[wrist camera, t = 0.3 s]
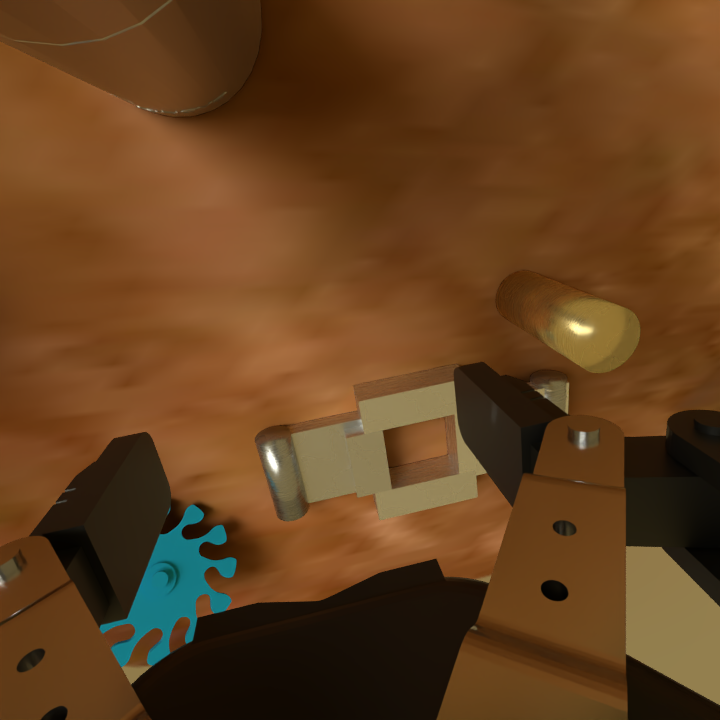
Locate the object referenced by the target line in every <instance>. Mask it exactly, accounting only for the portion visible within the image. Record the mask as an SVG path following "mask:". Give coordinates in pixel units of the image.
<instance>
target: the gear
mask: <svg viewBox="0 0 720 720" xmlns="http://www.w3.org/2000/svg"><path fill="white" fill-rule="evenodd" d="M169 512H170V509H169ZM169 512H168V514H169ZM168 514H167V515H168ZM203 517H204V514H203V512H202V511H201V510H200V509H199V508H198V507H196V506H195V505H191V506H189V507H188V508H187V509H186V511H185V513H184V516H183V519H182V520H181V522H180V523H179V525H178V526H177V527H175V528H174V529H173V530H171V531H170V532H169V533H167V534H160V535H159V538H158V540H157V543H156V545H155V548H154V551H153V553H152V556H151V558H150V561H149V563H148V566H147V569H146V571H145V574H144V576H143V579H142V582H141V584H140V587H139V589H138V592H137V594H136V597H135V600H134V602H133V605H132V607H131V610H130V612H129V615H128V618H127V619H124V620H120V621H116V622H112V623H108V624H103V625H101V626H100V628H99V629H100V630H101V632H102V634H103V633H104V632H106V631H107V630H109V629H111V628H113V627H115V626H119V625H123V624H132V625H133V626H134V627H135V634H134V635H133V637H132V638H130V639H128V640H125V641H120V642H117V643H115V644H114V645H113V646H112V647H111V650H112V652H113V654H114V655H115V657H116V659H117V661H118V663H119V664H120V666H121V667H123V666H124V665H125V664H126V663H127V662H128V661H129V659H130V656H131V653H132V650H133V648H134V646H135V645H136V643H137V642H138V641H139V640H140V638H142V637H143V636H144V635H145V634H146V633H147V632H149V631H150V630H151V629H153V628H159V629H161V630H162V632H163V636H162V639H161V640H160V641H159V642H158V643H157V644H156V645H154V646H153V647H152V648H151V649H150V651H149V653H148V660H147V662H148V664H150V665H154V664H155V663H157V662H158V661H160V660H161V659H163V658H164V657H165V656H167V655H168V654H170V650H169V638H170V634H171V631H172V629H173V627H174V625H175V623H176V621H177V620H178V619H179V618H181V617H188V618H189V619H190V626H189V628H188V631H187V633H186V636H185V641H186V644H187V643H189V642H191V641H193V636H194V632H195V627H196V623H197V617H196V600H197V598H198V597H199V596H200V595H202V594H208V595H209V596H210V606H211V610H212V611H213V613H214V614H215V613H219V612H223V611H225V610H226V609H227V608H228V606H229V605H230V603H231V599H230V597H229V596H228V595H226V594H224V593H219V592H216V591H214V590H213V589H211V588H210V586H209V585H208V584H207V582H206V581H205V579H204V573H205V571H206V570H207V569H208V568H209V567H216V568H217V570H218V571H219V573H220V574H221V575H222V576H224V577H226V578H230V577H233V575H234V573H235V569H236V562H237V560H236V559H235V558H232V557H226V558H224V559H221V560H210V559H207V558H205V557H202V556H201V555H200V553H199V547H200V545H201V544H202V543H203V542H210V543H212V544H215V545H220V544H223V543H225V542H226V541H227V536H226V532H225V529H224V527H223V525H218V526H215V527H213V528H212V529H211V530H210V531H209V532H208V533H207V534H206V535H204V536H202V537H200V538H197V539H191V540H187V539H184V538H183V536H182V529H183V528H184V526H186V525H189V524H196V523H198V522H200V521H201V520H202V519H203Z"/></svg>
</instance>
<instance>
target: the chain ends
mask: <svg viewBox="0 0 720 720" xmlns="http://www.w3.org/2000/svg"><path fill="white" fill-rule="evenodd" d="M456 367H460V366H459V365H458V364H453V365H449V366H444V367H439V368H434V369H430V370H425V371H420V372H416V373H411V374H406V375H401V376H397V377H392V378H387V379H382V380H378V381H373V382H368V383H363V384H359V385H354V386H353V387H354V393H355V398H356V404H357V409H358V411H353V412H349V413H344V414H340V415H335V416H330V417H326V418H321V419H316V420H312V421H307V422H303V423H298V424H293V425H289V426H272V427H269V428H266V429H264V430H262V431H261V432H259V433H258V434H257V436H256V437H255V443H256V446H257V449H258V453H259V456H260V459H261V463H262V466H263V470H264V473H265V476H266V480H267V483H268V487H269V490H270V493H271V497H272V500H273V503H274V507H275V510H276V514H277V516H278V518H279V519H281V520H283V521H294V520H297V519H299V518H301V517H302V516H304V515H305V514H306V513H307V511H308V509H309V503H312V502H316V501H320V500H325V499H329V498H333V497H338V496H342V495H346V494H351V493H355V492H356V493H357V497H362V496H366V495H371V494H373V498H374V502H375V505H376V509H377V513H378V516H379V520H384V519H388V518H392V517H396V516H400V515H405V514H409V513H413V512H417V511H421V510H426V509H430V508H434V507H438V506H442V505H447V504H451V503H455V502H459V501H463V500H468V499H472V498H476V497H478V495H477V479H476V476H477V475H481V474H485V473H487V472H486V471H485V469H484V468H483V467H482V465H481V464H480V463H479V461H478V460H477V458H476V457H475V456H474V454H473V453H472V452H471V450H470V449H469V448H468V446H467V445H466V444H465V442H464V440H463V438H462V436H461V433H460V429H459V425H458V419H457V408H456V397H455V387H454V369H455V368H456ZM527 384H528V385H530V386H531V387H532V388H534V390H535V391H538V392H539V393H540V394H542V395H543V396H544V398H547V399H548V400H550V401H551V402H552V403H554V404H555V405H556V406H558V407H559V408H560V409H562V410H563V411H564V412H566V413H567V414H568V401H569V382H568V381H567V376H566V375H565V374H563V373H561V372H558V371H554V370H542V371H537V372H535V373H533V374H532V375H531V376H530V382H528V383H527ZM440 417H445V426H446V437H447V447H448V455H446V456H441V457H437V458H433V459H428V460H424V461H419V462H415V463H411V464H406V465H402V466H398V467H393V468H389V467H388V461H387V455H386V448H385V442H384V436H383V430H386V429H391V428H395V427H400V426H404V425H409V424H413V423H418V422H422V421H427V420H431V419H436V418H440Z"/></svg>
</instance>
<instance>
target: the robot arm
mask: <svg viewBox="0 0 720 720" xmlns="http://www.w3.org/2000/svg"><path fill="white" fill-rule="evenodd" d="M261 33H262V20H261V3H260V0H0V41H1V42H3V43H5V44H7V45H9V46H12V47H14V48H16V49H18V50H20V51H22V52H24V53H26V54H28V55H30V56H32V57H35V58H37V59H39V60H41V61H43V62H45V63H47V64H49V65H51V66H53V67H56V68H58V69H60V70H62V71H64V72H66V73H68V74H70V75H72V76H74V77H77V78H79V79H81V80H83V81H85V82H87V83H89V84H91V85H93V86H95V87H98V88H100V89H102V90H104V91H106V92H108V93H110V94H112V95H114V96H116V97H118V98H121V99H123V100H125V101H127V102H129V103H131V104H133V105H135V106H136V107H138V108H141V109H144V110H148V111H150V112H152V113H156V114H161V115H167V116H172V117H184V116H195V115H199V114H203V113H206V112H210V111H212V110H214V109H216V108H217V107H219V106H221V105H223V104H224V103H226V102H227V101H229V100H230V99H231V98H232V97H233V96H234V95H235V94H236V93H237V92H238V91H239V90H240V89H241V87H242V86H243V84H244V83H245V81H246V80H247V78H248V77H249V75H250V73H251V72H252V69H253V66H254V63H255V61H256V58H257V55H258V52H259V46H260V39H261ZM454 387H455V397H456V408H457V419H458V425H459V429H460V433H461V436H462V438H463V440H464V442H465V444H466V445H467V446H468V448H469V449H470V450H471V452H472V453H473V454H474V456H475V457H476V458H477V460H478V461H479V463H480V464H481V465H482V467H483V468H484V469H485V471H486V472H487V473H488V475H489V476H490V477H491V479H492V480H493V481H494V483H495V484H496V485H497V487H498V488H499V490H500V491H501V492H502V494H503V495H504V496H505V498H506V499H507V500H508V502H509V503H510V504H511V506H512V507H513V509H512V512H511V515H510V518H509V521H508V525H507V528H506V531H505V534H504V537H503V541H502V544H501V547H500V550H499V553H498V557H497V560H496V563H495V566H494V569H493V573H492V576H491V579H490V582H489V583H486V582H483V581H479V580H474V579H469V578H460V577H444V576H443V574H442V571H441V569H440V566H439V564H438V562H437V559H433V560H429V561H425V562H421V563H417V564H413V565H409V566H405V567H401V568H397V569H393V570H389V571H385V572H381V573H378V574H376V575H374V576H372V577H370V578H368V579H366V580H364V581H362V582H360V583H357V584H355V585H353V586H351V587H349V588H347V589H345V590H343V591H341V592H339V593H337V594H335V595H333V596H331V597H329V598H326V599H324V600H320V601H310V602H269V603H255V604H251V605H247V606H243V607H239V608H235V609H231V610H227V611H223V612H219V613H215V614H211V615H207V616H203V617H199V618H197V623H196V627H195V632H194V636H193V641H191V642H189V643H187V644H185V645H183V646H181V647H180V648H178V649H176V650H175V651H173V652H171V653H170V654H168V655H167V656H165V657H164V658H163V659H161V660H160V661H158V662H157V663H155V664H154V665H153V666H152V667H151V668H149V669H148V670H147V671H146V672H145V673H143V674H142V675H141V676H140V677H139V678H138V679H137V680H136V681H135V682H134V683H132V684H130V682H129V681H128V679H127V677H126V675H125V673H124V671H123V670H122V668H121V666H120V664H119V663H118V661H117V659H116V657H115V655H114V654H113V652H112V650H111V648H110V647H109V645H108V643H107V641H106V639H105V638H104V636H103V634H102V632H101V630H100V629H99V628H100V626H101V625H103V624H108V623H112V622H116V621H120V620H124V619H127V618H128V615H129V612H130V610H131V607H132V605H133V602H134V600H135V597H136V594H137V592H138V589H139V587H140V584H141V582H142V579H143V576H144V574H145V571H146V569H147V566H148V563H149V561H150V558H151V556H152V553H153V551H154V548H155V545H156V543H157V540H158V538H159V535H160V532H161V530H162V527H163V525H164V522H165V520H166V517H167V514H168V512H169V509H170V505H171V492H170V486H169V483H168V480H167V477H166V475H165V472H164V469H163V467H162V464H161V461H160V458H159V456H158V453H157V450H156V448H155V445H154V442H153V440H152V438H151V436H150V435H149V434H148V433H147V432H142V433H137V434H133V435H128V436H123V437H118V438H114V439H113V440H112V441H111V442H110V443H109V445H108V446H107V447H106V449H105V450H104V451H103V453H102V454H101V455H100V457H99V458H98V460H97V461H96V462H94V463H92V464H91V465H90V466H88V467H87V468H86V469H84V470H83V471H82V472H80V473H79V474H78V475H77V476H76V477H75V478H74V479H73V480H72V482H71V483H70V484H69V486H68V487H67V488H66V489H65V493H62V495H61V496H60V497H59V498H58V500H57V501H56V505H53V506H52V507H51V509H50V510H49V511H48V513H47V514H46V515H45V516H44V518H43V519H42V520H41V522H40V523H39V524H38V525H37V527H36V528H35V529H34V530H33V532H32V533H31V534H30V536H29V537H25V538H21V539H18V540H15V541H12V542H10V543H7V544H5V545H3V546H1V547H0V720H720V705H718V704H716V703H715V702H713V701H711V700H709V699H707V698H705V697H704V696H702V695H700V694H698V693H696V692H694V691H693V690H691V689H689V688H687V687H685V686H684V685H681V684H680V683H678V682H676V681H674V680H673V679H671V678H669V677H667V676H665V675H663V674H662V673H659V672H658V671H656V670H654V669H652V668H651V667H649V666H647V665H645V664H643V663H641V662H640V661H638V660H636V659H634V658H632V657H631V656H629V655H627V654H626V546H644V547H662V548H663V549H664V551H665V552H666V553H667V554H668V555H669V556H670V557H671V558H672V559H673V560H674V561H675V562H676V563H677V564H678V565H679V566H680V567H681V568H682V569H683V570H684V571H685V572H686V573H687V574H688V575H689V576H690V577H691V578H692V579H693V580H694V581H695V582H696V583H697V584H698V585H699V586H700V587H701V588H702V589H703V590H704V591H705V592H706V593H707V594H708V595H709V596H710V597H711V598H712V599H713V600H714V601H715V602H716V603H717V604H718V605H719V606H720V412H718V411H710V410H688V411H682V412H678V413H676V414H674V415H672V416H670V418H669V419H668V421H667V431H666V436H646V437H624V433H623V431H622V430H621V429H620V427H618V426H617V425H616V424H614V423H612V422H610V421H608V420H605V419H602V418H599V417H594V416H587V415H571V416H570V415H568V414H567V413H566V412H564V411H563V410H562V409H560V408H559V407H558V406H556V405H555V404H554V403H552V402H551V401H550V400H548V399H547V398H544V396H543V395H542V394H540V393H539V392H538V391H535V390H534V388H532V387H531V386H530V385H528V384H527V383H526V382H524V381H523V380H520V379H517V378H514V377H511V376H508V375H503V376H500V375H499V374H498V373H496V372H495V371H494V370H493V369H492V368H490V367H489V366H488V365H487V364H485V363H484V362H479V363H475V364H470V365H465V366H460V367H456V368H455V369H454Z"/></svg>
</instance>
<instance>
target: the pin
mask: <svg viewBox="0 0 720 720" xmlns="http://www.w3.org/2000/svg"><path fill="white" fill-rule="evenodd" d="M496 307H497V309H498V311H499V313H500V314H501V315H502V316H503V317H504V318H506V319H507V320H509V321H510V322H512V323H513V324H515V325H517V326H518V327H520V328H521V329H523V330H524V331H526V332H527V333H529V334H531V335H532V336H534V337H535V338H537V339H538V340H540V341H541V342H543V343H545V344H546V345H548V346H549V347H551V348H552V349H554V350H556V351H557V352H559V353H560V354H562V355H563V356H565V357H566V358H568V359H570V360H571V361H573V362H574V363H576V364H577V365H579V366H580V367H582V368H584V369H585V370H587V371H589V372H593V373H604V372H608V371H611V370H614V369H616V368H617V367H619V366H620V365H622V364H623V363H624V362H626V361H627V360H628V359H629V357H630V356H631V355H632V354H633V352H634V351H635V349H636V347H637V344H638V342H639V338H640V323H639V320H638V318H637V317H636V315H635V314H634V313H633V312H632V311H631V310H629V309H627V308H625V307H622V306H619V305H617V304H614V303H612V302H609V301H606V300H604V299H601V298H599V297H596V296H593V295H591V294H588V293H586V292H583V291H580V290H578V289H575V288H573V287H570V286H567V285H565V284H562V283H560V282H557V281H555V280H552V279H549V278H547V277H544V276H542V275H539V274H536V273H534V272H531V271H525V270H523V271H518V272H515V273H513V274H511V275H509V276H508V277H507V278H506V279H505V280H504V281H503V282H502V283H501V285H500V286H499V288H498V291H497V294H496Z"/></svg>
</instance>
